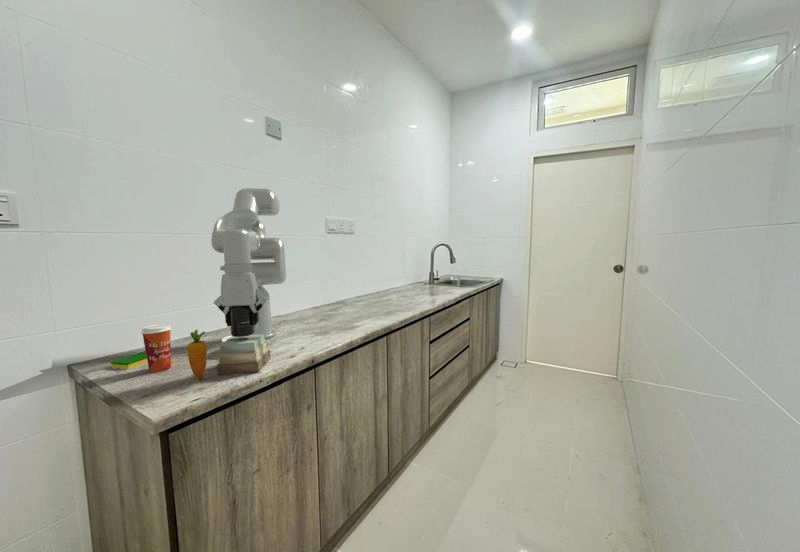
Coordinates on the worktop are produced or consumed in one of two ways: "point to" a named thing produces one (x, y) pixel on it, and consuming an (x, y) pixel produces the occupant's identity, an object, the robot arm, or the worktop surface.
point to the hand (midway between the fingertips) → (242, 324)
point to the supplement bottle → (241, 321)
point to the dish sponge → (130, 361)
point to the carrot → (197, 355)
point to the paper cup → (157, 346)
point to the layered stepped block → (243, 354)
